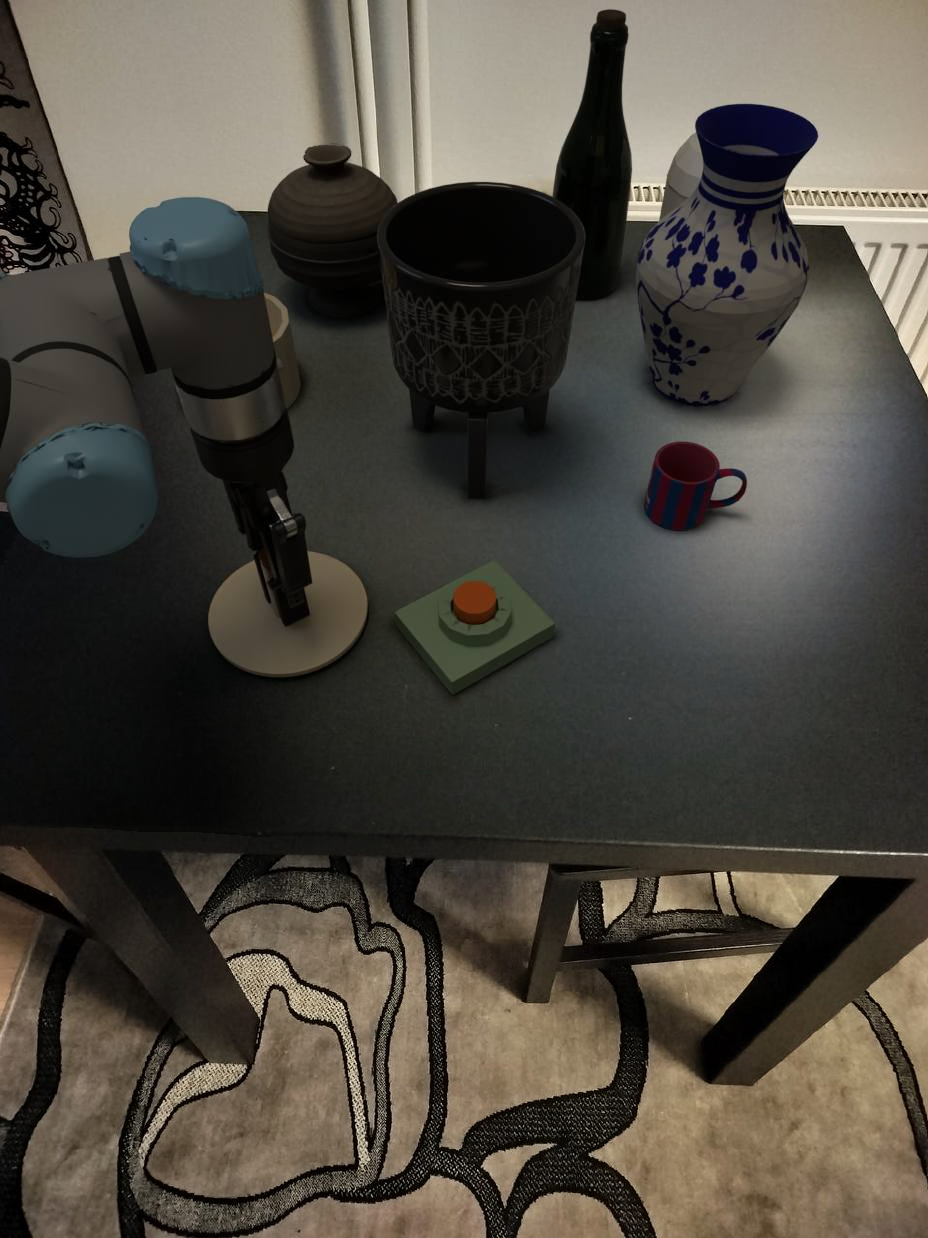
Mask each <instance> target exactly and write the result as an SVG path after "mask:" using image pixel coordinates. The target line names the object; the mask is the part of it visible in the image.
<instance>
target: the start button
mask: <svg viewBox="0 0 928 1238" xmlns="http://www.w3.org/2000/svg"><path fill="white" fill-rule="evenodd" d="M453 605H454V613H455V615H456V616H457V618H458V619H459V620H461V621H462V622H464V623H467V624H472V625H478V624H482V623H485V622H487V621H489V620H490V619H491V618H492V617H493V615H494V613H495V610H496V594H495V592H494V590H493V589H492V587H490V586H489V585H488V584H486V583H484V582H480V581H469V582H466V583H463V584H462V585H460V586H459V587H458V588H457V589H456V590H455V592H454V596H453Z"/></svg>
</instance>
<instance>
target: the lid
mask: <svg viewBox="0 0 928 1238" xmlns="http://www.w3.org/2000/svg"><path fill="white" fill-rule="evenodd" d="M307 551H308V558H309V564H310V570H311V577H312V584H310V585H308V586H307V587H304V589H305V594H306V598H307V602H308V607H309V611H310V615H309V616H307V617H305V618H303V619H301V620H299V621H297V622H295V623H293V624H291V625H289V626H287V627H285V626H284V624H283V623H282V620H281V617H280V613H279V609H278V606H277V602H276V598H275V595H274V591H271V590H270V588H269V586H268V584H267V581H269V580H270V578H272V577H273V574H272V571H271V568H270V564H269V561H268V558H267V555H266V552H265V549H264V547H263V548H262V549H261V550H260V552H259V560H260V563H261V567H262V570H263V574H264V578H265V581H266V585H267V588H268V592H269V595H270V599H271V602H272V603H270V604H269V603H268V602H267V600H266V598H265V595H264V591H263V588H262V585H261V581H260V578H259V574H258V571H257V567H256V564H255V560H254V559H253V560H252V561H250V562H248V563H246V564H244V565H243V566H241V567H239V568H238V569H236V570H235V571H234V572H233V573H232V574H230V575H229V576H228V577H227V578H226V579H225V580H224V582H222V584H221V585H220V587H219V588H218V589H217V590H216V592H215V594H214V596H213V597H212V600H211V603H210V605H209V610H208V617H207V618H208V619H207V621H208V622H207V625H208V631H209V634H210V638H211V640H212V642H213V644H214V646H215V648H216V650H217V651H218V652H219V653H220V655H221V657H223V658H224V659H225V660H226V661H227V662H228V663H230V664H231V665H233V666H234V667H236V668H238V669H240V670H242V671H244V672H246V673H250V674H253V675H257V676H261V677H268V678H291V677H297V676H301V675H307V674H310V673H313V672H316V671H318V670H321V669H323V668H325V667H327V666H329V665H330V664H332V663H334V662H336V661H337V660H339V659H340V658H341V657H343V655H345V654H346V653H348V651H349V650H350V649H351V648H352V647H353V646H354V645H355V643H356V642H357V641H358V640H359V637H360V636H361V634H362V632H363V631H364V628H365V627H366V622H367V619H368V614H369V603H368V595H367V592H366V588H365V585H364V584H363V582H362V580H361V579H360V578H359V576H358V575H357V574H356V572H355V571H354V570H353V569H352V568H350V566H348V565H347V564H346V563H345V562H342V561H341V560H339V559H337V558H335V557H332V556H331V555H328V554H324V553H321V552H317V551H311V550H310V551H309V550H307Z"/></svg>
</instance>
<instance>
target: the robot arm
mask: <svg viewBox="0 0 928 1238" xmlns="http://www.w3.org/2000/svg"><path fill="white" fill-rule="evenodd" d="M128 238H129V243H130V244H129V251H126V252H119V255H115V256H110V257H103V258H98V259H92V260H86V261H81V262H76V263H70V264H65V265H59V266H53V267H48V268H43V269H37V270H31V271H24V272H20V273H14V274H11V273H10V274H7V273H5V274H4V273H3V274H0V503H3V504H6V509H7V512H8V513H9V515H10V516H11V518H12V521H13V523H14V525H15V527H16V528H17V530H18V531H19V533H20V534H21V535H22V536H23V537H24V538H26V539H27V540H28V541H30V542H32V543H33V544H34V545H37V546H39V547H40V548H42V550H43V551H45V552H47V553H50V554H52V555H57V556H60V557H66V558H75V559H81V558H82V559H83V558H96V557H97V558H98V557H102V556H106V555H110V554H113V553H115V552H118V551H120V550H122V549H125V548H127V547H128V546H130V545H131V544H133V543H134V542H135V541H137V540H138V539H139V538H140V537H141V536H142V535H143V534H144V533H145V532H146V531H147V530H148V529H149V526H150V525H151V523H152V522H154V517H155V514H156V511H157V508H158V501H159V497H158V487H157V480H156V479H157V478H156V473H155V465H154V464H155V461H154V451H153V449H152V447H151V445H150V443H149V441H148V439H147V436H146V433H145V429H144V427H143V422H142V420H141V415H140V413H139V409H138V406H137V403H136V398H135V393H134V389H133V385H132V381H131V379H134V378H138V377H142V376H146V375H151V374H155V373H158V371H162V370H167V369H170V370H171V373H172V379H173V383H174V386H175V389H176V392H177V395H178V398H179V401H180V405H181V408H182V410H183V414H184V417H185V420H186V422H187V426H189V428H190V429H189V430H190V435H191V437H192V439H193V443H194V447H195V450H196V454H197V455H198V459H199V462H200V464H201V465H202V467H203V469H204V470H205V471H206V472H208V473H209V474H210V475H211V476H212V477H215V478H216V479H219V480H221V481H222V483H223V486H224V489H225V493H226V495H227V498H228V501H229V504H230V507H231V511H232V513H233V516H234V520H235V522H236V526H237V531H238V532H239V533H240V534H241V536H245V538H246V543H247V546H248V548H249V549H250V550H251V551H252V552H255V553H253V554H252V556H253V560H255V564H256V567H257V571H258V574H259V578H260V581H261V585H262V588H263V591H264V595H265V598H266V600H267V602H268V603H269V604H270V603H272V602H271V599H270V595H269V592H268V588H267V585H266V581H265V578H264V574H263V570H262V567H261V563H260V560H259V552H260V550H261V549H262V548H263V547H264V549H265V552H266V555H267V558H268V561H269V564H270V568H271V571H272V574H273V577H272V578H270V580H269V581H267V584H268V586H269V588H270V590H271V591H274V595H275V598H276V602H277V606H278V609H279V613H280V617H281V620H282V623H283V624H284V626H285V627H287V626H289V625H291V624H293V623H295V622H297V621H299V620H301V619H303V618H305V617H307V616H309V615H310V611H309V607H308V602H307V598H306V594H305V589H304V587H307V586H308V585H310V584H312V577H311V570H310V564H309V558H308V551H309V550H308V546H307V540H306V528H307V523H306V521H307V520H306V517H305V516H304V515H303V514H302V513H301V512H297V513H296V512H294V513H293V511H292V508H291V505H290V501H289V497H288V494H287V493H288V490H289V486H288V483H287V479H286V477H285V475H284V473H283V472H282V471H283V470H284V468H285V467H286V466H287V464H288V463H289V461H290V460H291V458H292V455H293V453H294V449H295V441H294V436H293V430H292V427H291V421H290V415H289V411H288V409H286V407H285V399H284V394H283V389H282V384H281V380H280V375H279V372H280V371H282V370H283V368H284V366H283V362H282V361H281V360H280V359H279V358H277V359H276V354H275V348H274V343H273V338H272V332H271V327H270V322H269V316H268V311H267V306H266V300H265V295H264V293H265V290H264V279H263V278H262V275H261V273H260V269H259V265H258V261H257V258H256V253H255V250H254V246H253V242H252V238H251V235H250V231H249V226H248V224H247V222H246V221H245V219H244V218H243V216H242V215H241V214H240V213H239V212H238V211H237V210H236V209H234V207H231V206H230V205H229V204H227V203H225V202H223V201H220V200H217V199H213V198H208V197H200V196H181V197H174V198H169V199H165V200H163V201H161V202H160V203H159V205H158V206H152V207H147V208H144V209H143V210H142V211H140V212H139V213H138V214H137V215H136V216H135V217H134V219H132V221H131V224H130V226H129V230H128Z"/></svg>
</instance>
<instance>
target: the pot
mask: <svg viewBox="0 0 928 1238" xmlns="http://www.w3.org/2000/svg"><path fill="white" fill-rule="evenodd" d="M351 157H352V150H351V148H350V147H348V146H347V145H344V144H343V145H337V144H336V143H334V142H331V144H318V145H313V146H309V147H307V148H306V149H305V150H304V154H303V156H302V159H303V161H304V162H305V164H306V165H303V166H300V167H298V168H296V169H294V170H293V171H291V172H289V173H288V174H287V175H286V176H285V177H284V178H282V180H280V182H279V183H278V184H277V185H276V187H275V188H274V189H273V191H272V193H271V196H270V198H269V201H268V205H267V218H268V219H267V221H268V223H267V227H266V234H267V239H268V242H269V245H270V247H269V248H270V252H271V255H272V256H273V258H274V260H275V262H276V264H277V265H276V266H277V267H278V268H279V270H280V271H281V272H282V273H283V274H284V275H285V276H286V277H288V278H291V280H293V281H294V282H296V283H299V284H302V285H303V286H307V287H310V289H309V290H308V302H309V304H310V306H311V307H312V308H313V309H314V310H315V311H316V312H317V313H320V314H322V315H324V316H328V317H334V318H351V317H356V316H360V315H363V314H366V313H367V312H369V311H371V310H373V309H374V308H375V307H377V305H378V304H379V303H380V301H381V298H382V292H381V288H380V286H379V283H383V282H382V275H381V268H380V260H379V253H378V245H377V230H378V227H379V224H380V222H381V220H382V218H383V217H384V216H385V214H386V213H387V212H388V211H389V210H390V209H391V208H392V207H393V206H395V205H396V204H397V203H399V202H398V198H397V197H396V195H395V193H394V192H393V190H392V188H391V187H390V186H389V185H388V184H387V182H385V181H384V180H383V179H382V178H381V177H380V176H378V175H377V174H376V173H374V171H372V170H370V169H368V168H366V167H364V166H361V165H358V164H355V163H352V162H349V160H350V159H351Z"/></svg>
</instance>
